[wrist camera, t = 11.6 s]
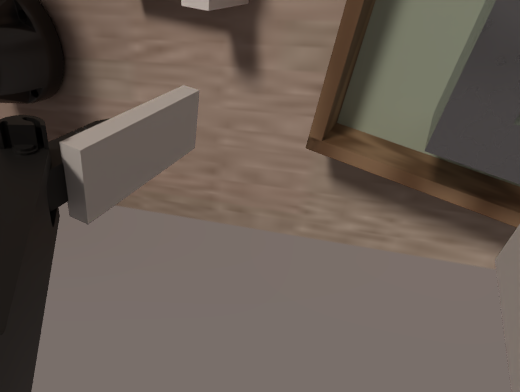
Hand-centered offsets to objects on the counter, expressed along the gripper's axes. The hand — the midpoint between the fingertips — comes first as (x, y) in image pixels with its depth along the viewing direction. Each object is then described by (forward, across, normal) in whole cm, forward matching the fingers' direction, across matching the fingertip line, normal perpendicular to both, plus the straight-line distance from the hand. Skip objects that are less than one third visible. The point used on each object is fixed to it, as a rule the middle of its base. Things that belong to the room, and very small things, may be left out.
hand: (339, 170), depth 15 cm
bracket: (+22, +6, +1) cm, 23 cm away
